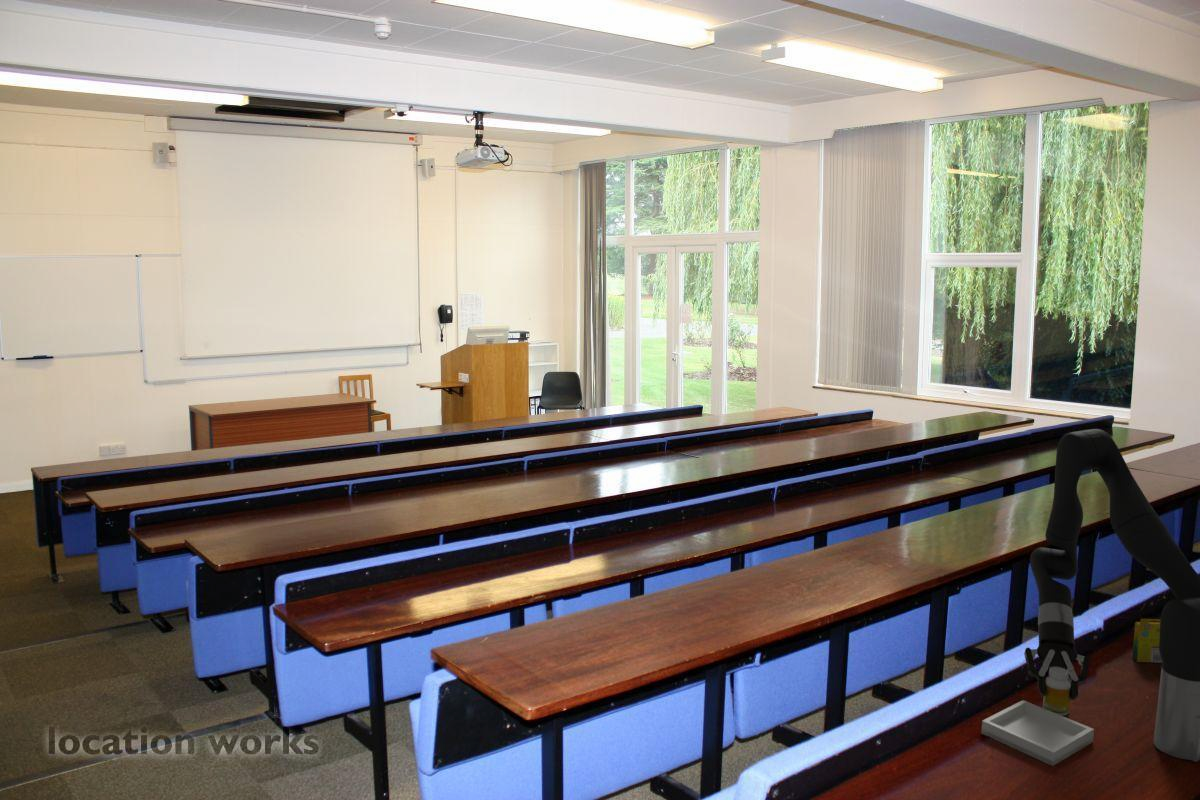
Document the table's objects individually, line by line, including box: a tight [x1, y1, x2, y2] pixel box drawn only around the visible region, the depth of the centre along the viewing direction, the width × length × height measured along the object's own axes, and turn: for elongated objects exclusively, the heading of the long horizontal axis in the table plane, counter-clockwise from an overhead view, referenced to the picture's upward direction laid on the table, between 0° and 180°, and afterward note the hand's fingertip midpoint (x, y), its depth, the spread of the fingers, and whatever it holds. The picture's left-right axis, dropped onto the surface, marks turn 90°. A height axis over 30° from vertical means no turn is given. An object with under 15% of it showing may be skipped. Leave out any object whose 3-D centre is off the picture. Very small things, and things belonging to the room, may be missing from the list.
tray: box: [980, 699, 1095, 767], centre depth 204 cm, size 16×16×3 cm
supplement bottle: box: [1042, 667, 1071, 717], centre depth 215 cm, size 5×5×10 cm
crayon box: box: [1131, 618, 1162, 664], centre depth 241 cm, size 7×3×12 cm, turn 84°
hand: (1058, 696), depth 213 cm, fingers closed on supplement bottle, 5 cm apart
